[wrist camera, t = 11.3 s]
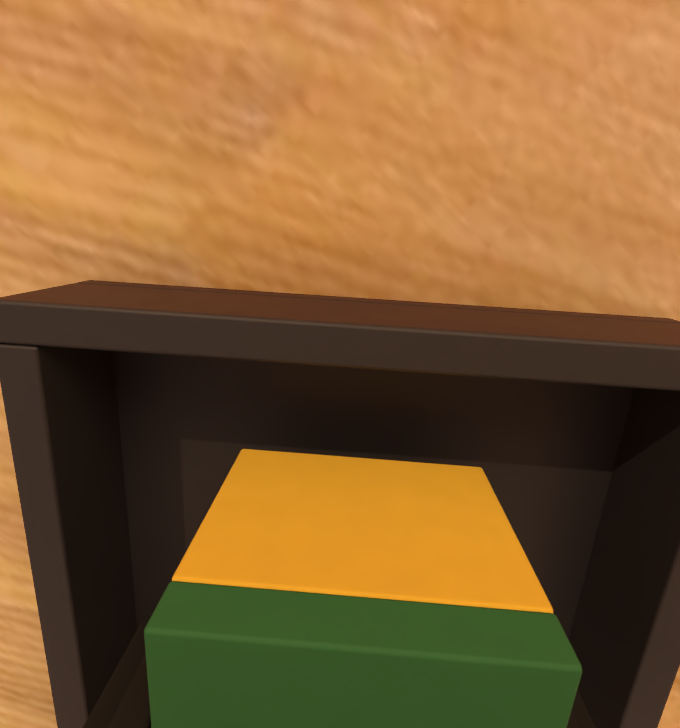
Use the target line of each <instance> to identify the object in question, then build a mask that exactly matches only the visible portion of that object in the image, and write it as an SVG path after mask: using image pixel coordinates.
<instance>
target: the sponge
mask: <svg viewBox="0 0 680 728" xmlns="http://www.w3.org/2000/svg"><path fill="white" fill-rule="evenodd" d="M144 639H145V652H146V665H147V677H148V690H149V702H150V715H151V728H567V724H568V721H569V717H570V714H571V710H572V707H573V703H574V700H575V696H576V693H577V689H578V686H579V682H580V679H581V675H582V666H581V664H580V662H579V660H578V658H577V656H576V654H575V652H574V650H573V648H572V646H571V644H570V642H569V640H568V638H567V636H566V634H565V632H564V630H563V628H562V626H561V624H560V622H559V620H558V618H557V616H556V615H555V614H553V608H552V606H551V604H550V602H549V600H548V598H547V596H546V594H545V592H544V590H543V588H542V586H541V584H540V582H539V580H538V578H537V576H536V574H535V572H534V570H533V568H532V566H531V564H530V562H529V560H528V558H527V556H526V554H525V552H524V550H523V548H522V546H521V544H520V542H519V540H518V539H517V537H516V535H515V533H514V531H513V529H512V527H511V525H510V523H509V521H508V519H507V517H506V515H505V513H504V511H503V509H502V507H501V505H500V503H499V501H498V499H497V497H496V495H495V493H494V491H493V489H492V487H491V485H490V483H489V481H488V479H487V477H486V475H485V473H484V471H483V469H482V468H481V467H473V466H460V465H447V464H434V463H421V462H408V461H395V460H382V459H370V458H357V457H344V456H331V455H318V454H305V453H292V452H279V451H266V450H254V449H242V450H241V451H240V453H239V455H238V457H237V459H236V461H235V462H234V464H233V466H232V468H231V470H230V472H229V474H228V475H227V477H226V479H225V481H224V483H223V485H222V486H221V488H220V490H219V492H218V494H217V496H216V498H215V499H214V501H213V503H212V505H211V507H210V509H209V511H208V512H207V514H206V516H205V518H204V520H203V522H202V523H201V525H200V527H199V529H198V531H197V533H196V535H195V536H194V538H193V540H192V542H191V544H190V546H189V547H188V549H187V551H186V553H185V555H184V557H183V559H182V560H181V562H180V564H179V566H178V568H177V570H176V572H175V573H174V575H173V577H172V582H170V583H169V585H168V586H167V588H166V590H165V592H164V594H163V596H162V597H161V599H160V601H159V603H158V605H157V607H156V609H155V610H154V612H153V614H152V616H151V618H150V620H149V622H148V623H147V625H146V627H145V629H144Z"/></svg>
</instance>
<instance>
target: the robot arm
mask: <svg viewBox="0 0 680 728" xmlns="http://www.w3.org/2000/svg"><path fill="white" fill-rule="evenodd" d="M152 614H153V613H149V614H148V615H146V616H145V618H144V619H143V621H142V622H141V624H140V626H139V627H138V629H137V631H136V633H135V635H134V636H133V638H132V640H131V642H130V644H129V645H128V647H127V649H126V651H125V652H124V654H123V656H122V658H121V660H120V661H119V663H118V665H117V667H116V669H115V670H114V672H113V674H112V676H111V678H110V679H109V681H108V683H107V685H106V687H105V688H104V690H103V692H102V694H101V696H100V697H99V699H98V701H97V703H96V705H95V706H94V708H93V710H92V712H91V713H90V715H89V717H88V719H87V721H86V722H85V724H84V726H83V728H151V715H150V702H149V690H148V677H147V665H146V652H145V639H144V629H145V627H146V625H147V623H148V622H149V620H150V618H151V616H152ZM567 728H596V727H595V725H594V723H593V721H592V719H591V717H590V715H589V713H588V710H587V708H586V706H585V704H584V702H583V700H582V698H581V695H580V693H579V691H578V689H577V693H576V696H575V700H574V703H573V707H572V710H571V714H570V717H569V721H568V724H567Z"/></svg>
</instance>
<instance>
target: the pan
mask: <svg viewBox="0 0 680 728" xmlns="http://www.w3.org/2000/svg"><path fill="white" fill-rule="evenodd" d="M0 382H1V388H2V394H3V400H4V406H5V412H6V418H7V424H8V431H9V437H10V443H11V449H12V455H13V461H14V467H15V473H16V479H17V485H18V491H19V497H20V503H21V509H22V515H23V521H24V527H25V533H26V539H27V545H28V551H29V557H30V563H31V569H32V575H33V581H34V587H35V593H36V599H37V605H38V611H39V617H40V623H41V629H42V636H43V642H44V648H45V654H46V660H47V666H48V672H49V678H50V684H51V690H52V696H53V702H54V708H55V714H56V720H57V726H58V728H83V726H84V724H85V722H86V721H87V719H88V717H89V715H90V713H91V712H92V710H93V708H94V706H95V705H96V703H97V701H98V699H99V697H100V696H101V694H102V692H103V690H104V688H105V687H106V685H107V683H108V681H109V679H110V678H111V676H112V674H113V672H114V670H115V669H116V667H117V665H118V663H119V661H120V660H121V658H122V656H123V654H124V652H125V651H126V649H127V647H128V645H129V644H130V642H131V640H132V638H133V636H134V635H135V633H136V631H137V629H138V627H139V626H140V624H141V622H142V621H143V619H144V618H145V616H146V615H148V614H149V613H153V612H154V610H155V609H156V607H157V605H158V603H159V601H160V599H161V597H162V596H163V594H164V592H165V590H166V588H167V586H168V585H169V583H170V582H172V577H173V575H174V573H175V572H176V570H177V568H178V566H179V564H180V562H181V560H182V559H183V557H184V555H185V553H186V551H187V549H188V547H189V546H190V544H191V542H192V540H193V538H194V536H195V535H196V533H197V531H198V529H199V527H200V525H201V523H202V522H203V520H204V518H205V516H206V514H207V512H208V511H209V509H210V507H211V505H212V503H213V501H214V499H215V498H216V496H217V494H218V492H219V490H220V488H221V486H222V485H223V483H224V481H225V479H226V477H227V475H228V474H229V472H230V470H231V468H232V466H233V464H234V462H235V461H236V459H237V457H238V455H239V453H240V451H241V450H242V449H254V450H266V451H279V452H292V453H305V454H318V455H331V456H344V457H357V458H370V459H382V460H395V461H408V462H421V463H434V464H447V465H460V466H473V467H481V468H482V469H483V471H484V473H485V475H486V477H487V479H488V481H489V483H490V485H491V487H492V489H493V491H494V493H495V495H496V497H497V499H498V501H499V503H500V505H501V507H502V509H503V511H504V513H505V515H506V517H507V519H508V521H509V523H510V525H511V527H512V529H513V531H514V533H515V535H516V537H517V539H518V540H519V542H520V544H521V546H522V548H523V550H524V552H525V554H526V556H527V558H528V560H529V562H530V564H531V566H532V568H533V570H534V572H535V574H536V576H537V578H538V580H539V582H540V584H541V586H542V588H543V590H544V592H545V594H546V596H547V598H548V600H549V602H550V604H551V606H552V608H553V614H555V615H556V616H557V618H558V620H559V622H560V624H561V626H562V628H563V630H564V632H565V634H566V636H567V638H568V640H569V642H570V644H571V646H572V648H573V650H574V652H575V654H576V656H577V658H578V660H579V662H580V664H581V666H582V675H581V679H580V682H579V686H578V691H579V693H580V695H581V698H582V700H583V702H584V704H585V706H586V708H587V710H588V713H589V715H590V717H591V719H592V721H593V723H594V725H595V727H596V728H657V727H658V724H659V721H660V718H661V715H662V713H663V710H664V707H665V704H666V702H667V699H668V696H669V693H670V690H671V688H672V685H673V682H674V679H675V676H676V674H677V671H678V668H679V665H680V322H679V321H676V320H673V319H668V318H653V317H638V316H623V315H608V314H593V313H577V312H562V311H547V310H532V309H517V308H502V307H487V306H471V305H456V304H441V303H426V302H411V301H396V300H381V299H366V298H350V297H335V296H320V295H305V294H290V293H275V292H260V291H245V290H229V289H214V288H199V287H184V286H169V285H154V284H139V283H123V282H108V281H93V280H89V281H83V282H78V283H74V284H69V285H63V286H58V287H53V288H48V289H42V290H37V291H32V292H27V293H21V294H16V295H11V296H6V297H0Z"/></svg>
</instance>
